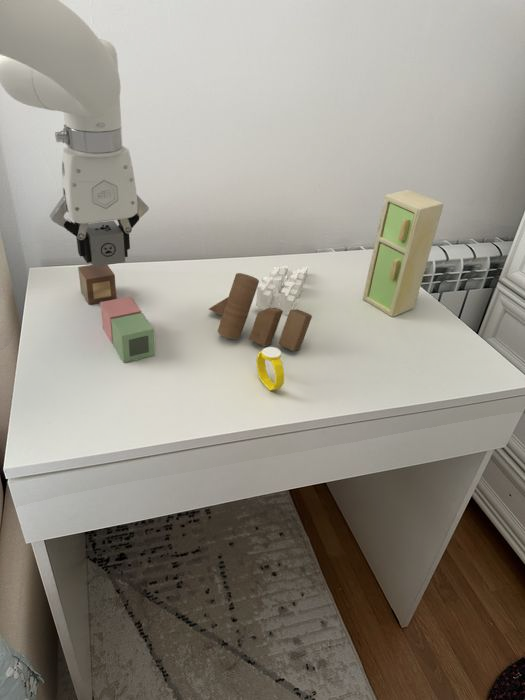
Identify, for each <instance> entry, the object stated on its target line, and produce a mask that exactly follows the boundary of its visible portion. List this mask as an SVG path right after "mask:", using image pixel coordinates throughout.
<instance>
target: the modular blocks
mask: <svg viewBox="0 0 525 700" xmlns="http://www.w3.org/2000/svg"><path fill="white" fill-rule="evenodd" d="M288 269H289V266H288V265H282V267H281V266H273V267H272V269H271V270H270V272H269V275H268V276H266V275H265V276H264V277H263V279H262V281H261V282H259V283H258V286H257V289H256V300H255V306H257V307H258V309H259V310H262V311H263V310H265V309H267V308H271V305H272V304H273V302H274V300H275V294H279V292H280V295H279V296H278V297H277V298H276V299H279V305H278V309H280V310H282V311H283V312H282V315H285V316H288V314H289V312H290V310H293V309H295V307H296V304H297V299H300V296H301V292H302V290H303V288H304V283H305V282H304V281H305V280H306V277H307V275H308V269H309V267H308V266H304V265H303V266H301V268H299V267H296V270H292V272H291V275H290V276H289V278H288V275H286V273H287V272H288ZM288 279H289V281H288Z"/></svg>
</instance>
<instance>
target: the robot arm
mask: <svg viewBox="0 0 525 700" xmlns="http://www.w3.org/2000/svg"><path fill="white" fill-rule="evenodd" d="M118 62H119V61H118V53H117V50H116V48H115V46H114V45H113V43H112V42H111V41H108V40H106V39H102V38H99V37H98V36H97V34H96V33H95V32H94V31H93V30H92V29H91V27H90V26H89V25H88V24H87V23H86V22H85V21H84V19H83V18H81V17H80V16H79V15H78V14H77V13H76V12H74V11H73V10H72V9H71V8H69V7H68V6H67V5H66V4H65V3H63V2H61V1H60V0H0V85H1V87H2V88H3V90H4V91H5V92H6V93H7V95H8V96H10V97H11V98H12V99H14V100H15V101H17V102H19V103H21V104H24V105H26V106H29V107H33V108H38V109H43V110H47V111H53V112H54V111H56V112H61V113H63V120H64V124H63V128H62V130H60V131H55V132H54V136H55V142H56V143H62V144H65V145H66V146H64V147H63V149H62V157H61V159H62V160H61V183H62V184H61V187H62V188H61V189H62V197H61V198H60V199H59V200H58V203H57V204H56V206H55V207H54V208H53V210H52V211H51V212H50V214H49V218H50V220H51V221H52V222H53V223H55V224H56V225H58V226H60V227H62V228H64V229H65V230H66V231H68V233H70V234H72V235H73V236H75V237H76V246H77V253H78V256H79V257H81V258H83V259H84V261H85V263H86V264H92V263H91V262H92V259H91V250H90V241H89V239H88V237H87V234H86V232H87V228H88V224H89V223H98V222H107V221H117V223H118V224H117V225H118V227H119V228H120V229H121V231H122V232H123V236H124V251H125V258H128V256H129V254H128V253H129V252H128V250H130V249H131V242H130V234H131V233H132V231H133V228H134V227H135V225H136V224H137V223H138V222H139V221H140V219H141V218H143V216H144V215H145V214H146V213H147V212H148V211H149V210H150V207H149V206H148V205H147V204H146V202H145V201H143V199H142V198H141V197H140V196H139V195H138V194H137V187H136V179H135V173H134V167H133V162H132V158H131V154H130V150H129V148H127V147H125V146H124V145H123V131H122V130H123V129H122V112H121V111H122V110H121V96H120V95H121V88H122V87H121V79H120V77H121V76H120V72H119V63H118ZM66 213H68V215H69V217H70V219H69V218H66V217H65V215H66Z"/></svg>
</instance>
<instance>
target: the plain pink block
mask: <svg viewBox="0 0 525 700" xmlns="http://www.w3.org/2000/svg"><path fill="white" fill-rule="evenodd" d="M99 304H100V312H101V313H100V314H101V324H102V330H103V331H104V332H105V334H106V336H107V337H108V339H109V341H110V343H111V345H113V334H112V323H111V319H115V318H120V317H124V316H129V315H134V314H139V313H142V310H141V308H139V306H138V305H137V303H136V302H135V300H134V299H133V298H132V296H124V297H119V298H117V299H114V300H109V301H104V302H100V303H99Z"/></svg>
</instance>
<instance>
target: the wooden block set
mask: <svg viewBox="0 0 525 700" xmlns="http://www.w3.org/2000/svg"><path fill="white" fill-rule="evenodd" d="M259 280H260V279H258V278H257V277H254V276H252V275H249V274H246V273H241V272H237V273H236V274H235V276H234V279H233V282H232V284H231V288H230V291H229V294H228V297H225V298H224V299H222V300H221V301H219V302H218V303H216V304H214V305H212V306H211V307H209V308H208V310H209V311H211V312H213V313H216V314H218V315H220V316H221V319H220V322H219V325H218V329H217V333H218V334H219V335H220V336H222V337H224V338H226V339H230V340H239V339H241V337H242V334H243V331H244V328H245V325H246V322H247V319H248V316H249V313H250V310H251V307H252V304H253V301H254V298H255V296H256V293H257V288H258V286H259V284H260V281H259ZM282 312H283V311H282V310H280V309H279V307H269V308H267V309H265V310H263V309H262V310H261V311H260V312H257V313H256V316H255V319H254V322H253V325H252V328H251V331H250V333H249V336H248V340H249V341H251V342H254V343H256V344H258V345H259V346H262V347H266V346H267V347H268V346H270V345H272V344H273V341H274V338H275V335H276V332H277V329H278V326H279V323H280V320H281V318H282V315H283V314H282ZM312 318H313V315H312V314H310V313H309V312H306V311H304V310H300V309H299V308H294V309H293V310H290V312H289V314H288V315H287V318H286V321H285V323H284V326H283V329H282V332H281V334H280V337H279V340H278V343H277V344H278V345H279V346H281V347H283V348H286V349H288V350H290V351H292V352H296V351H298V350H300V349H301V348H302V346H303V343H304V340H305V337H306V335H307V331H308V329H309V326H310V323H311V321H312Z"/></svg>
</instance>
